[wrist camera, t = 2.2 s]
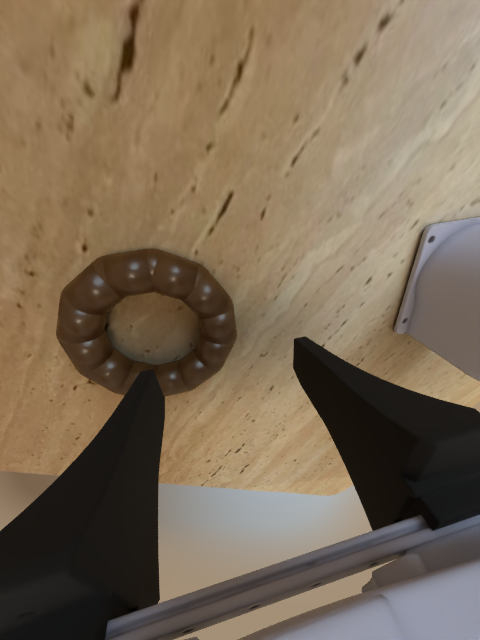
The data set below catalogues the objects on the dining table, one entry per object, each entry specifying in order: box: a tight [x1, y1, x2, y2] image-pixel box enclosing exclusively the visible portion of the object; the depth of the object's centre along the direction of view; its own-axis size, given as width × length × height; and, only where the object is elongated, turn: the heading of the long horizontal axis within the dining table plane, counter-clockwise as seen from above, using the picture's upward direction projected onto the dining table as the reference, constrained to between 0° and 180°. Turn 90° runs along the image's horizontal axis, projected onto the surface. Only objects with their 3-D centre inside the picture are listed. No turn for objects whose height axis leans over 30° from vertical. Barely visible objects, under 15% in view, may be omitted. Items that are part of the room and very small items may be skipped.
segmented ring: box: [56, 249, 237, 397], centre depth 16 cm, size 11×11×2 cm
